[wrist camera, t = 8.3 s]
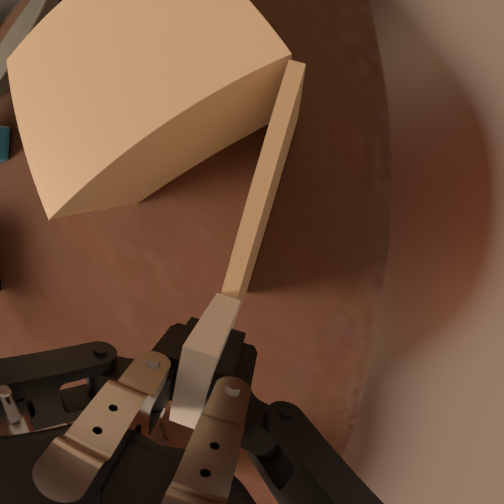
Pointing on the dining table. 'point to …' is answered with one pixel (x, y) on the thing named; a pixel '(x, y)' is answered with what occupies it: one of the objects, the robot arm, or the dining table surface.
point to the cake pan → (19, 30)
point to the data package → (4, 143)
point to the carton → (138, 94)
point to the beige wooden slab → (238, 259)
